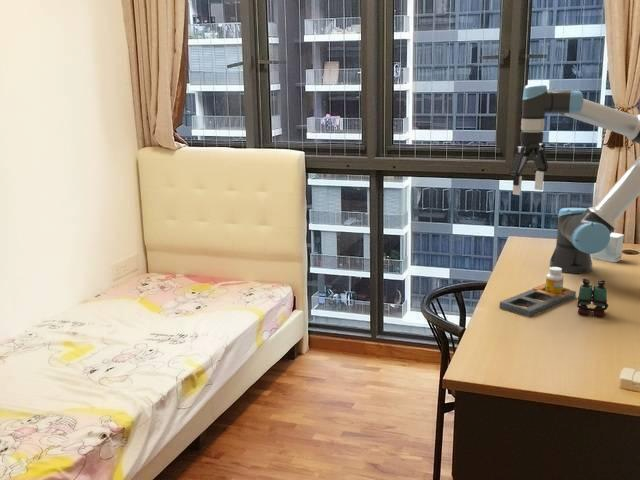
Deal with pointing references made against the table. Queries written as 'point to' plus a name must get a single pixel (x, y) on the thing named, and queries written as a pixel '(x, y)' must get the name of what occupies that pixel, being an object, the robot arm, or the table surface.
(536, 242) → the table surface
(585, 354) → the table surface
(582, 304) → the binoculars
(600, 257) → the skincare box
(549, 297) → the hole rail
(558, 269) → the supplement bottle
